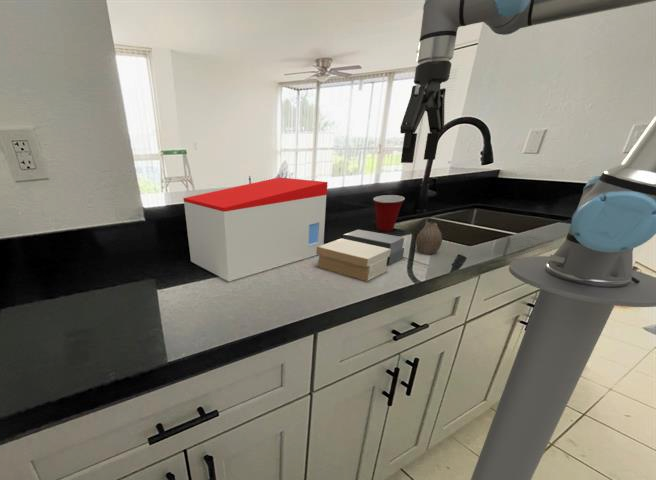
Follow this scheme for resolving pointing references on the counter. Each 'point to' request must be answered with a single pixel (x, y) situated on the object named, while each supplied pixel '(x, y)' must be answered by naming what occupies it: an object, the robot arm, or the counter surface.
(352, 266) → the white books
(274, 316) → the counter surface
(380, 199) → the plastic cup
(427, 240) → the vase
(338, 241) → the beige flat rectangular block
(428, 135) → the robot arm
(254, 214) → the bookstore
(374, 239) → the grey books
